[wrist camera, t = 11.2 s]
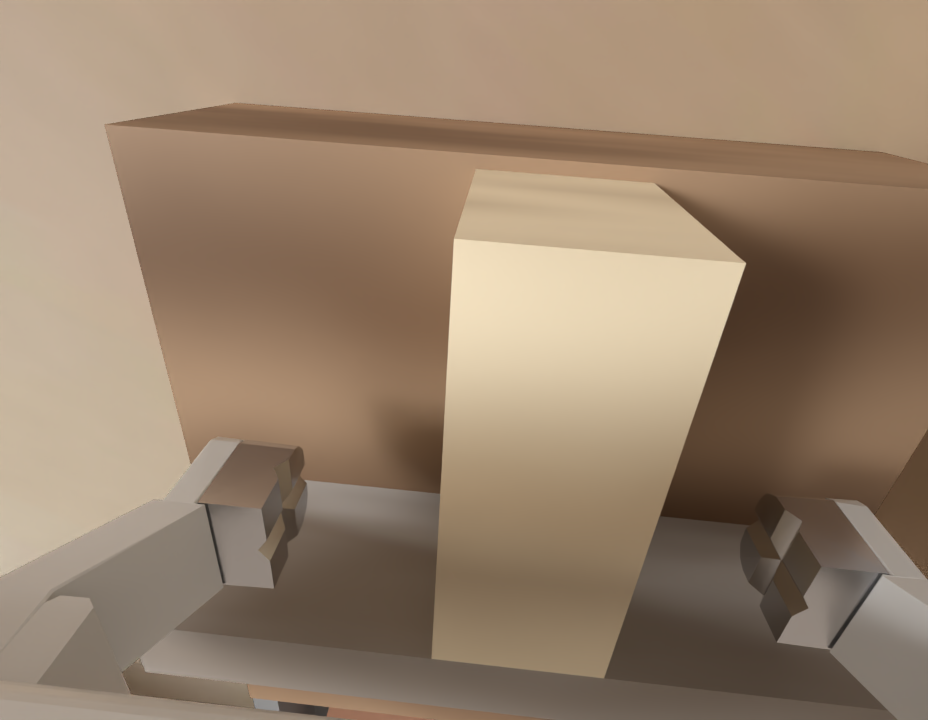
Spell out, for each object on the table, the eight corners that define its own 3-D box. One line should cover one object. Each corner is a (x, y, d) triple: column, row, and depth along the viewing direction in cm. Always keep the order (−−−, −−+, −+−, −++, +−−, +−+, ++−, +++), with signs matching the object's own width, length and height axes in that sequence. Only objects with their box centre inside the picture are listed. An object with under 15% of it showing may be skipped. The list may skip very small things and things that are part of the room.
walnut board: (683, 615, 22) (725, 754, 17) (300, 574, 22) (250, 697, 18) (882, 152, 13) (1071, 199, 9) (235, 103, 13) (104, 124, 9)
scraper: (790, 574, 13) (890, 758, 10) (238, 516, 14) (145, 672, 10) (993, 209, 9) (1313, 311, 5) (159, 144, 9) (-53, 196, 6)
